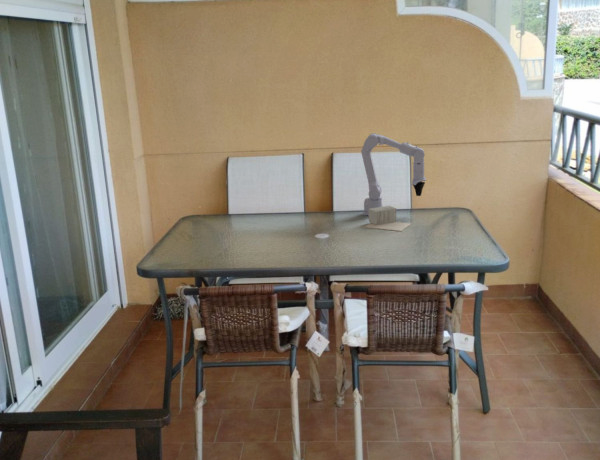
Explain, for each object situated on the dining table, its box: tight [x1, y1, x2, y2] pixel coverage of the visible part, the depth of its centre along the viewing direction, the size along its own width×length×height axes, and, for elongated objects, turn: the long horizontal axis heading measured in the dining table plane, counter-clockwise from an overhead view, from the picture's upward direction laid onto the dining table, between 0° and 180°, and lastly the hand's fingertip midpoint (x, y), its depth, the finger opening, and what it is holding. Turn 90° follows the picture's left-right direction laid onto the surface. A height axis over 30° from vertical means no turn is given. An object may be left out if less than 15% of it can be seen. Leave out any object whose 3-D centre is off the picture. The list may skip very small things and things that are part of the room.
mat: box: [364, 221, 412, 232], centre depth 308 cm, size 20×14×1 cm
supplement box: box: [368, 205, 397, 225], centre depth 313 cm, size 7×7×13 cm
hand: (418, 195), depth 324 cm, fingers closed
